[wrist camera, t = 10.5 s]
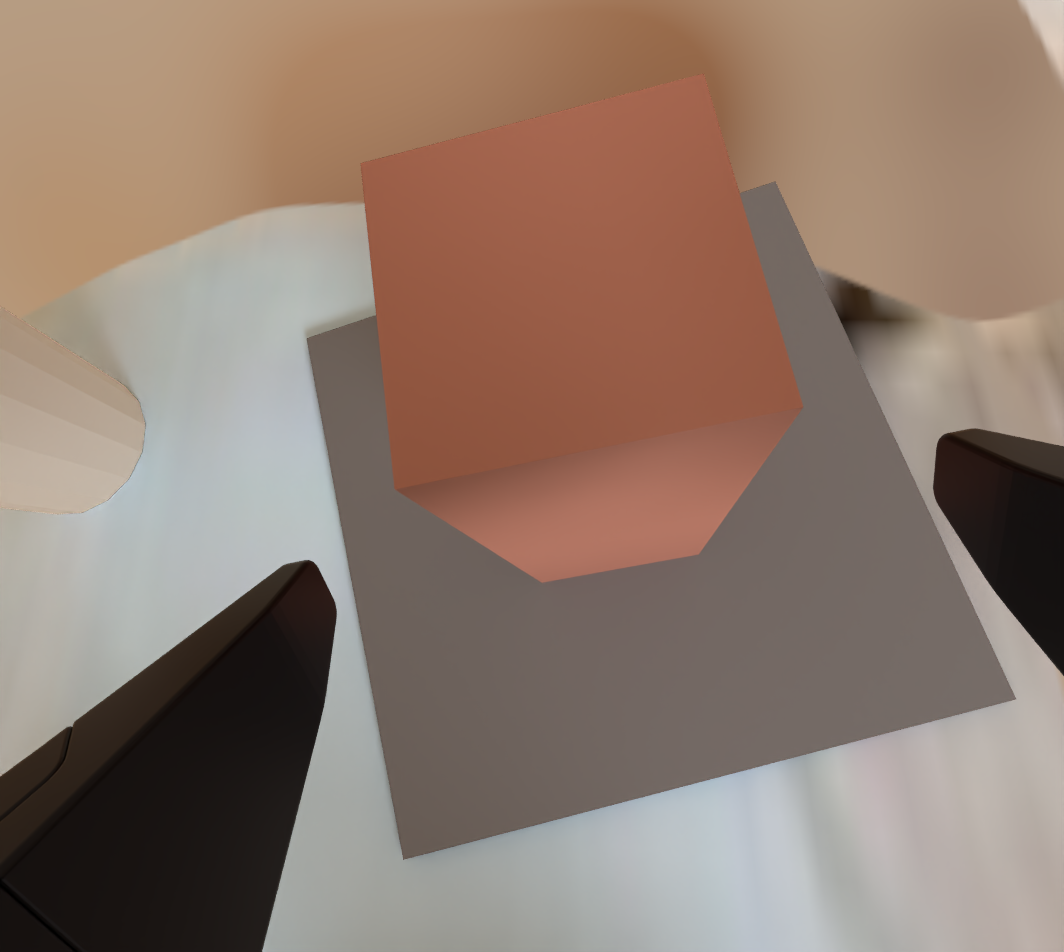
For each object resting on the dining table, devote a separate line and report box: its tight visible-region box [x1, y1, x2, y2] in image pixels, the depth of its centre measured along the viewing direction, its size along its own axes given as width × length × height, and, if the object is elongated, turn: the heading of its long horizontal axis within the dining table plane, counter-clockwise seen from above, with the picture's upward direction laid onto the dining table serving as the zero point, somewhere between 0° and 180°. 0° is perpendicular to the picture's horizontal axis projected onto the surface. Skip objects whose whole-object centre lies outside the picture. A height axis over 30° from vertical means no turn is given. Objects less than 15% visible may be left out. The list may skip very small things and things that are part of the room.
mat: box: [307, 182, 1016, 860], centre depth 21 cm, size 18×18×1 cm
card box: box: [361, 74, 803, 583], centre depth 15 cm, size 5×5×13 cm
